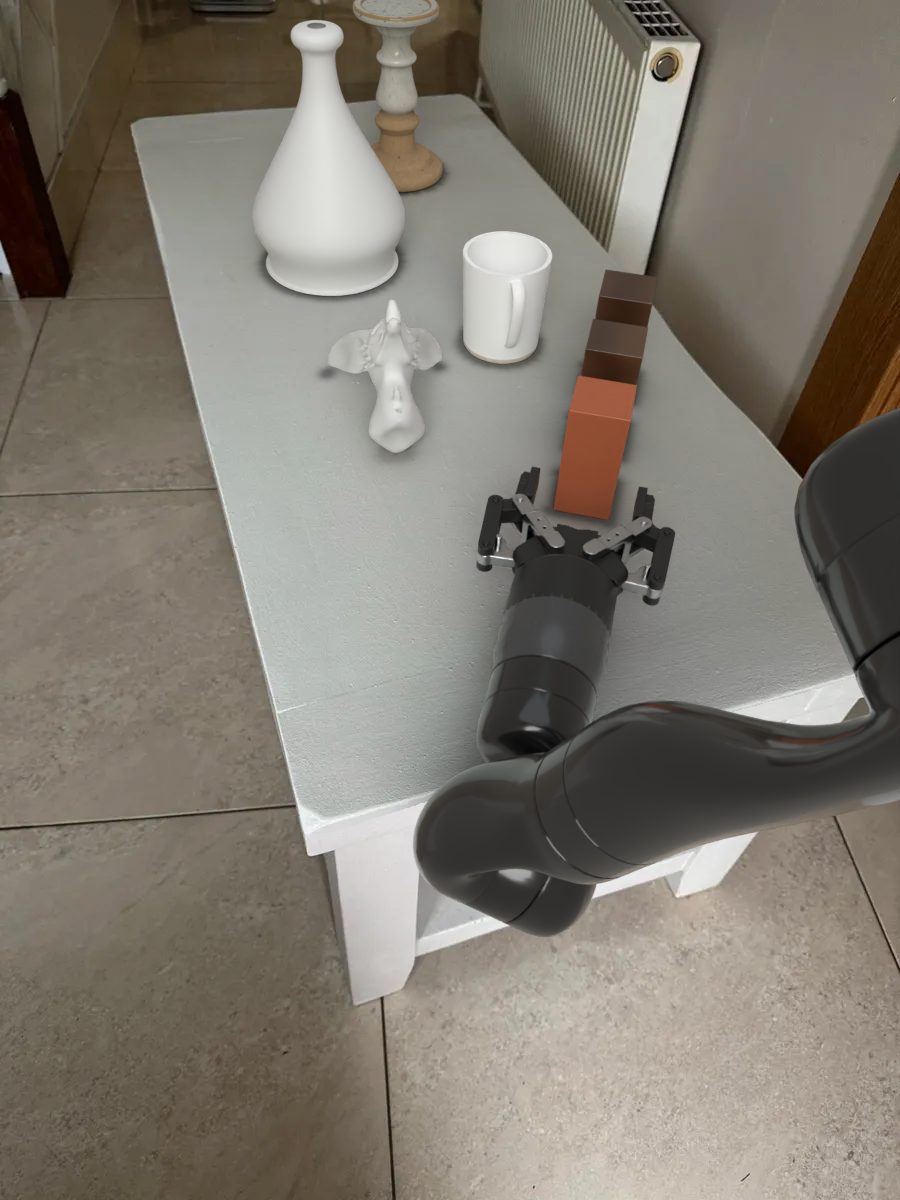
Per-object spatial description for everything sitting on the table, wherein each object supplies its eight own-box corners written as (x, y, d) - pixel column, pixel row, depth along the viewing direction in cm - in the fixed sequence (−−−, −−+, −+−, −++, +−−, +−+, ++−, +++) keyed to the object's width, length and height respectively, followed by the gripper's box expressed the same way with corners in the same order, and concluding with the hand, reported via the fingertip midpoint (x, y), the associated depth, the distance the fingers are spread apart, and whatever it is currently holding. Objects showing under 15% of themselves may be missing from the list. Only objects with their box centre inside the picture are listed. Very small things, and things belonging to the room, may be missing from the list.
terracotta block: (615, 484, 86) (637, 384, 78) (608, 520, 83) (630, 420, 74) (561, 474, 87) (577, 375, 78) (553, 510, 83) (569, 410, 75)
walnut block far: (636, 373, 98) (657, 276, 89) (631, 401, 94) (652, 303, 86) (589, 365, 98) (605, 268, 90) (582, 392, 95) (598, 295, 87)
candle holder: (352, 152, 130) (345, -14, 115) (440, 153, 131) (444, -12, 116) (351, 193, 122) (343, 20, 107) (445, 193, 123) (450, 22, 108)
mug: (452, 322, 103) (455, 233, 95) (531, 317, 104) (541, 229, 96) (470, 381, 96) (475, 290, 88) (554, 375, 97) (567, 285, 89)
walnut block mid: (626, 425, 92) (648, 326, 83) (621, 456, 88) (642, 357, 80) (576, 416, 92) (593, 318, 84) (569, 447, 89) (585, 348, 81)
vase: (286, 314, 103) (259, 67, 84) (239, 241, 113) (205, 7, 94) (429, 282, 108) (433, 43, 89) (372, 215, 118) (364, -11, 100)
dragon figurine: (327, 389, 75) (317, 253, 79) (336, 488, 92) (327, 371, 96) (473, 381, 76) (455, 247, 80) (455, 480, 93) (441, 365, 97)
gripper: (669, 623, 60) (688, 464, 70) (455, 579, 62) (503, 431, 72) (647, 691, 66) (667, 535, 76) (451, 649, 67) (497, 502, 78)
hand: (587, 484), depth 74 cm, fingers open, 8 cm apart
